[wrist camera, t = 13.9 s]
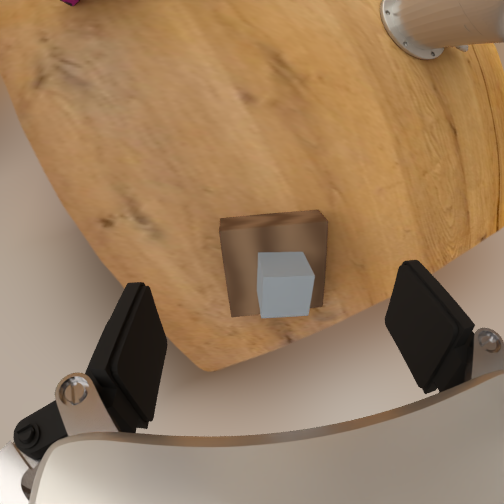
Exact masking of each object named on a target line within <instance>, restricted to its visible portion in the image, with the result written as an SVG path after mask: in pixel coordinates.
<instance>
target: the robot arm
mask: <svg viewBox="0 0 504 504" xmlns="http://www.w3.org/2000/svg"><path fill="white" fill-rule="evenodd" d="M380 14H381V18H382V22H383V24H384V26H385V28H386V30H387V32H388V34H389V35H390V36H391V38H392V39H393V40H394V42H395V43H396V44H397V45H398V46H399V47H400V48H402V49H403V50H404V51H405V52H407V53H408V54H410V55H411V56H414V57H416V58H419V59H426V60H428V59H434V58H437V57H438V56H440V55H441V54H442V52H443V51H444V48H445V47H456V48H457V49H459V50H461V51H463V52H466V51H467V50H468V45H470V44H483V43H501V42H504V0H382V2H381V6H380ZM385 325H386V327H387V329H388V331H389V332H390V334H391V336H392V337H393V339H394V341H395V343H396V345H397V346H398V348H399V350H400V352H401V354H402V356H403V358H404V360H405V361H406V363H407V365H408V367H409V369H410V371H411V373H412V375H413V377H414V379H415V381H416V383H417V384H418V386H419V387H420V388H422V389H423V391H424V393H425V394H427V393H430V392H432V391H435V390H436V389H437V388H438V389H439V393H438V394H435V395H433V396H430V397H428V398H425V399H422V400H419V401H417V402H414V403H411V404H408V405H405V406H402V407H399V408H395V409H392V410H389V411H385V412H382V413H378V414H375V415H371V416H367V417H363V418H359V419H355V420H351V421H346V422H342V423H337V424H332V425H327V426H322V427H316V428H310V429H303V430H297V431H290V432H281V433H271V434H261V435H248V436H247V435H246V436H220V437H197V436H195V437H193V436H166V435H152V434H139V433H136V428H145V429H147V428H148V422H149V421H152V420H153V418H154V412H155V406H156V401H157V395H158V390H159V385H160V379H161V374H162V369H163V365H164V360H165V355H166V350H167V339H166V336H165V333H164V330H163V327H162V324H161V321H160V318H159V315H158V312H157V309H156V306H155V303H154V300H153V296H152V293H151V290H150V287H149V286H145V284H144V283H143V282H137V283H128V284H127V285H126V287H125V289H124V291H123V293H122V295H121V297H120V299H119V301H118V303H117V305H116V307H115V309H114V312H113V313H112V316H111V318H110V320H109V321H108V322H107V324H106V326H105V329H104V331H103V333H102V335H101V337H100V340H99V342H98V344H97V347H96V349H95V351H94V353H93V356H92V358H91V360H90V363H89V365H88V368H87V370H86V373H85V374H83V373H72V374H69V375H67V376H66V377H64V378H63V379H62V380H61V381H60V382H59V383H58V385H57V387H56V390H55V399H56V400H55V401H53V402H52V403H50V404H48V405H47V406H45V407H43V408H42V409H40V410H38V411H36V412H34V413H33V414H31V415H29V416H28V417H26V418H24V419H23V420H21V421H20V422H19V423H18V425H17V426H16V428H15V430H14V442H13V443H12V442H11V441H9V442H8V443H7V444H6V446H4V447H3V449H2V450H1V451H0V504H504V342H503V340H502V338H501V337H500V336H499V334H498V333H496V332H495V331H494V330H491V329H489V328H480V329H478V330H477V331H476V332H475V334H474V333H473V332H472V330H473V328H474V326H475V324H474V323H473V322H472V321H471V319H470V318H469V317H468V316H467V314H466V313H465V312H464V311H463V310H462V309H461V307H460V306H459V305H458V304H457V302H456V301H455V300H454V299H453V298H452V297H451V296H450V294H449V293H448V292H447V291H446V290H445V289H444V288H443V287H442V285H440V283H439V282H438V281H437V280H436V279H435V278H434V277H433V276H432V274H431V273H430V272H429V271H428V270H427V269H426V268H425V267H424V266H423V265H422V264H421V263H420V262H419V261H418V260H410V261H404V262H403V263H402V265H401V266H400V267H399V269H398V273H397V277H396V281H395V285H394V289H393V292H392V296H391V299H390V303H389V307H388V310H387V313H386V316H385Z"/></svg>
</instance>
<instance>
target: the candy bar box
mask: <svg viewBox="0 0 504 504" xmlns="http://www.w3.org/2000/svg"><path fill="white" fill-rule="evenodd" d="M61 1H63V2H65V3H66V4H68V5H70V6H74V5H75V4H76V3H77V2H78V1H80V0H61Z"/></svg>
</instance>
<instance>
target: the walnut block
mask: <svg viewBox="0 0 504 504" xmlns="http://www.w3.org/2000/svg"><path fill="white" fill-rule="evenodd" d="M219 234H220V241H221V249H222V256H223V263H224V270H225V277H226V284H227V291H228V297H229V304H230V310H231V317H240V316H250V315H259V314H260V307H259V301H258V295H257V269H258V253H260V252H303V253H304V255H305V257H306V259H307V261H308V263H309V265H310V267H311V269H312V271H313V273H314V275H315V278H314V285H313V291H312V297H311V303H310V308H315V307H322V306H323V296H324V284H325V271H326V255H327V236H328V221H327V219H326V218H325V217H324V216H323V215H322V214H321V213H320V211H319V210H309V211H296V212H284V213H272V214H261V215H250V216H240V217H230V218H221V219H220V227H219Z"/></svg>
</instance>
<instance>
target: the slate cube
mask: <svg viewBox="0 0 504 504" xmlns="http://www.w3.org/2000/svg"><path fill="white" fill-rule="evenodd" d="M314 278H315V275H314V273H313V271H312V269H311V267H310V265H309V263H308V261H307V259H306V257H305V255H304V253H303V252H260V253H258V269H257V295H258V301H259V307H260V314H261V318H275V317H293V316H308V314H309V308H310V303H311V297H312V291H313V285H314Z"/></svg>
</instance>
